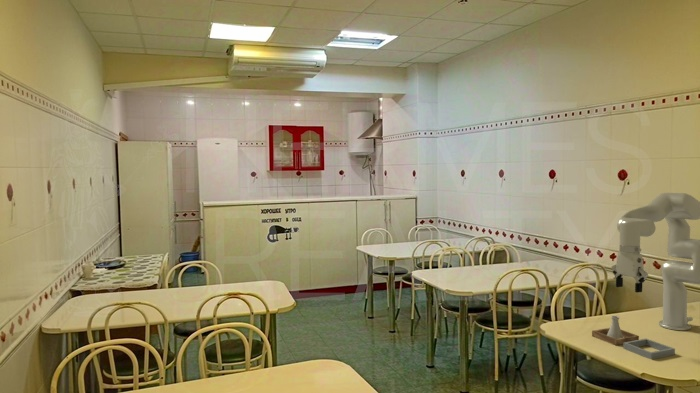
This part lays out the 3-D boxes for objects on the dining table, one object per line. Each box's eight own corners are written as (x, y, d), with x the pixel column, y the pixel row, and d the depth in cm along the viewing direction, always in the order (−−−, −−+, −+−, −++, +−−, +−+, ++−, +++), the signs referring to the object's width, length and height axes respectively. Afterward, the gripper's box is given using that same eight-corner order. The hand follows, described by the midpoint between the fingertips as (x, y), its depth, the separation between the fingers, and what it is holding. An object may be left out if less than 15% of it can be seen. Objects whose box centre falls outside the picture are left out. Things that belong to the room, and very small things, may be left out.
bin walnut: (613, 332, 228) (613, 327, 228) (638, 341, 216) (638, 335, 216) (592, 336, 224) (592, 330, 224) (616, 345, 212) (616, 339, 212)
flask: (626, 342, 216) (627, 319, 215) (608, 341, 217) (609, 319, 217) (621, 336, 223) (621, 314, 222) (603, 335, 224) (604, 314, 224)
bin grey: (645, 344, 213) (646, 338, 213) (674, 354, 201) (674, 348, 201) (623, 348, 209) (623, 342, 208) (651, 359, 196) (651, 353, 196)
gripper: (654, 252, 201) (653, 293, 202) (619, 245, 218) (618, 284, 218) (640, 253, 199) (639, 295, 200) (606, 246, 215) (605, 285, 216)
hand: (628, 289), depth 209 cm, fingers open, 9 cm apart
